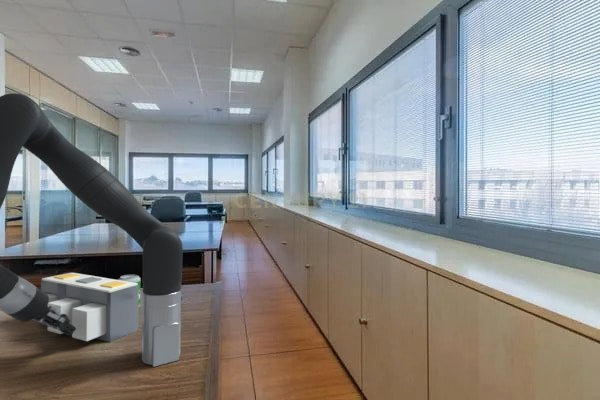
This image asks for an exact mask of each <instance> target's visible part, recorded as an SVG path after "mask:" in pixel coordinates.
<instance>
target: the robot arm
mask: <svg viewBox="0 0 600 400" xmlns="http://www.w3.org/2000/svg"><path fill="white" fill-rule="evenodd" d="M22 148H24V149H25V150H27V151H28V152H29V153H31V154H32V155H34V156H35V157H36V158H37V159H39V160H40V161H41V162H43V163H44V164H45V165H46V166H47V167H48V168H49V169H50V171H51V172H52V173H53V174H54V176H56V177H57V179H58V180H59V181H60V182H61V183H62V184H63V185H64V186H65V187H66V188H67V189H68V191H69V192H71V193H72V194H73V195H74V197H76V198H77V199H78V200H80V201H81V202H82V203H83V204H84V205H85V206H86V207H88V208H89V209H91V211H93V212H95V213H96V214H97V215H99V216H100V217H102V218H103V219H105V220H107V221H109V223H111V224H114V225H116V226H117V227H119V228H120V229H122V230H123V232H125V233H127V234H128V236H130V237H131V238H132V239H133V241H135V242H136V244H138V245H139V247H140V248H141V249H142V280H141V281H142V307H141V308H142V313H141V315H142V316H141V318H142V319H141V323H142V324H141V326H142V327H141V329H142V330H141V332H142V333H141V362H143V363H144V364H146V365H150V366H152V367H158V366H162V365H165V364H169V363H172V362H177V361H179V359H180V356H181V332H182V331H181V328H182V327H181V326H182V325H181V324H182V323H181V322H182V321H181V320H182V318H181V315H182V313H181V311H182V310H181V309H182V305H181V304H182V280H183V253H184V252H183V242H182V239H181V238H180V236H179V234H178V233H177V232H176V231H175V230H173V229H172V228H170V227H169V226H167V225H166V224H165V223H163V222H162V221H160V220H159V219H157V218H156V217H155V216H154V215H152V214H151V213H150V212H149V211H147V210H146V208H145V207H143V205H142V204H141V203H140V202H139V200H138V199H137V198H136V197H135V195H133V193H132V192H130V190H129V189H128V188H127V187H126V186H125V185H124V184H123V183H122V182H121V181H120V180H119V179H118V178H117V177H116V176H115V175H113V174H112V173H111V172H110V171H109V170H108V169H107V168H106V167H105V166H104V165H102V164H101V163H100V162H98V161H97V160H96V159H94V158H93V157H92V156H89V154H87V153H85V152H84V151H82V150H81V149H79V148H77V146H75V145H73V143H71V142H70V141H69V140H68V138H66V137H65V136H64V135H63V134H62V133H61V131H59V130H58V129H57V128H56V127H55V125H54V124H53V123H52V122H51V121H50V119H49V118H48V117H47V116H46V114H45V112H44V111H43V110H42V108H41V107H40V105H39V104H38V103H37V102H36V101H35V100H33V99H32V98H31V97H29V96H27V95H24V94H21V93H12V92H11V93H7V94H3V95H0V209H1V208H2V206H3V204H4V201H5V199H6V196H7V194H8V193H7V192H8V190H9V185H10V182H11V176H12V173H13V170H14V165H15V163H16V160H17V158H18V156H19V154H20V151H21V150H22ZM48 302H49V296H48V295H47V294H46V293H44V292H43V291H41V288H39V287H37V286H35V285H34V284H33V283H31V282H30V281H28V280H27V279H24V278H23V277H21V276H19V275H17V274H16V273H14V272H13V271H11V270H10V269H9V268H7V267H5V266H4V265H2V264H0V311H1V312H3V313H4V314H5V315H8V316H9V317H11V318H14V319H15V320H16V321H18V322H20V323H27V322H30V321H34V322H35V323H36V322H37V323H40V324H41V325H43V326H45V327H47V328H48V327H52V328H54V329H58V330H60V331H61V332H63V333H62V334H64V335H67V336H72V334H73V332H74V331H75V330H76V328H75V327H74V326H72V325H71V324H69V322H70V320H69V318H68V317H67V315H66V314H60V313H59V312H58V311H56V309H55V308H54V307H52V306H49V307H48Z"/></svg>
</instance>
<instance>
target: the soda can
mask: <svg viewBox="0 0 600 400" xmlns="http://www.w3.org/2000/svg"><path fill="white" fill-rule="evenodd" d="M117 280H121V281H127V282H133V283H138V285H139V305H138V308H140V306H141V281H142V280H141V277H140V276H139V275H137V274H124V275H121V276H120V277H119V278H118V279H117Z"/></svg>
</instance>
